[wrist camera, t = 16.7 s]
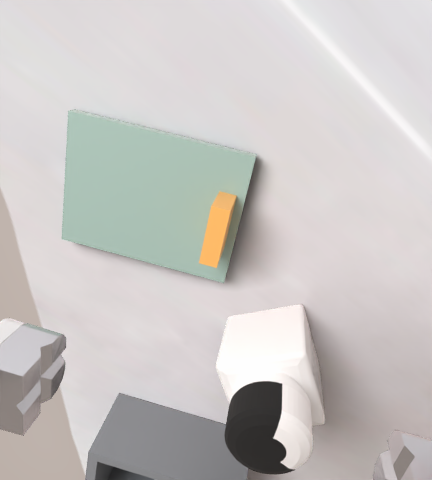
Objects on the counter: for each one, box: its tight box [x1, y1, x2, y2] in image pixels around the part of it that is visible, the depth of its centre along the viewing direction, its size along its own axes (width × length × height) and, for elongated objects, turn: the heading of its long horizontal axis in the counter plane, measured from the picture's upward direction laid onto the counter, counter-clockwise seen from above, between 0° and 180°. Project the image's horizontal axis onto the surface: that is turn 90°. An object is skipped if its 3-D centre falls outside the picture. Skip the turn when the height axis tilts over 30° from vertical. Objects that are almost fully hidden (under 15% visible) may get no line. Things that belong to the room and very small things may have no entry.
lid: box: [62, 109, 257, 283], centre depth 35 cm, size 16×12×6 cm
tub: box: [85, 393, 248, 480], centre depth 46 cm, size 16×12×8 cm
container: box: [216, 304, 325, 474], centre depth 35 cm, size 8×8×13 cm
